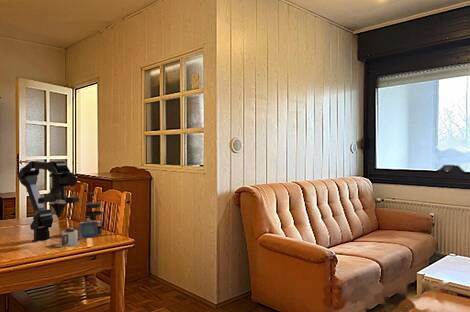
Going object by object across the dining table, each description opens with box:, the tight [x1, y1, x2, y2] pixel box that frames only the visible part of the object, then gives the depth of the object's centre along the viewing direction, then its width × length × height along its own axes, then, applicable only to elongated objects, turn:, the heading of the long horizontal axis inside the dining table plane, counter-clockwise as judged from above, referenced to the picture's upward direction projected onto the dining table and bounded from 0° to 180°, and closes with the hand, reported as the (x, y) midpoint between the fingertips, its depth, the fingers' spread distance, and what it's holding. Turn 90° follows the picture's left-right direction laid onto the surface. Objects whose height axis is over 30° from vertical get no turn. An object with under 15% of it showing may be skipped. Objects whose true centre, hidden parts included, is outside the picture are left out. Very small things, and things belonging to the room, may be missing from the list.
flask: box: [78, 217, 99, 240], centre depth 188 cm, size 9×3×11 cm, turn 121°
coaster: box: [53, 241, 84, 248], centre depth 174 cm, size 10×10×1 cm
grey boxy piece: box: [60, 229, 79, 246], centre depth 173 cm, size 7×9×6 cm
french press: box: [83, 192, 107, 235], centre depth 200 cm, size 12×9×23 cm
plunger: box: [64, 226, 74, 232], centre depth 174 cm, size 4×4×6 cm
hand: (58, 217), depth 179 cm, fingers closed
